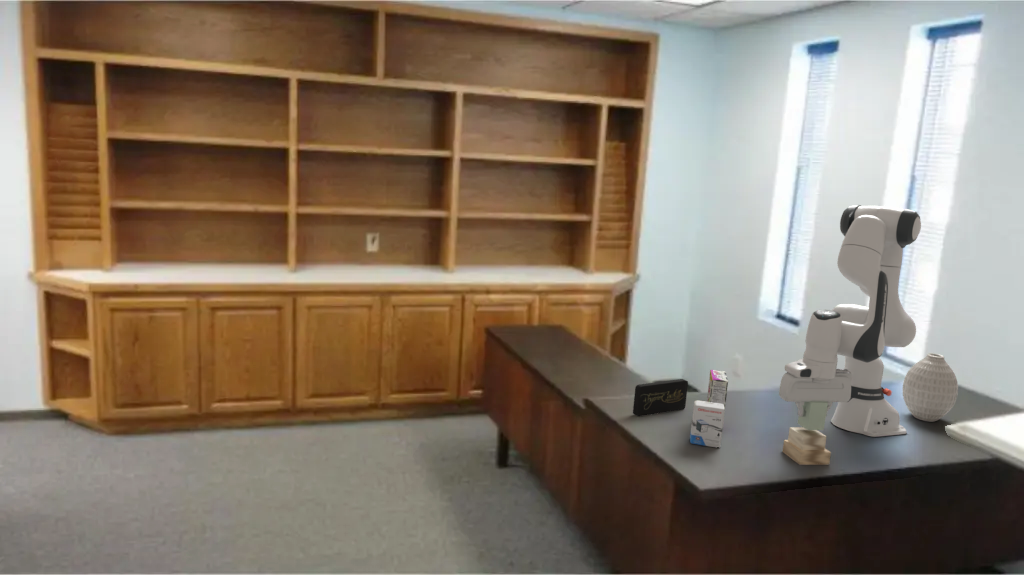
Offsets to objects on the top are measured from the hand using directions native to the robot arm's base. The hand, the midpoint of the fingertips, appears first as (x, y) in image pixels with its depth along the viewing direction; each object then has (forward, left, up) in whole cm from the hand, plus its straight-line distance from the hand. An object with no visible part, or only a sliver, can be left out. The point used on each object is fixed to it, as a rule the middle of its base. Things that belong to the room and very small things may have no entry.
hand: (811, 416), depth 207 cm
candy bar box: (+17, -24, -12) cm, 32 cm away
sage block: (0, 0, -3) cm, 3 cm away
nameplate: (+30, -36, -12) cm, 48 cm away
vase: (-64, -32, -12) cm, 73 cm away
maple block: (+1, 0, -8) cm, 9 cm away
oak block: (+1, +1, -12) cm, 13 cm away
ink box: (+26, -10, -12) cm, 31 cm away
